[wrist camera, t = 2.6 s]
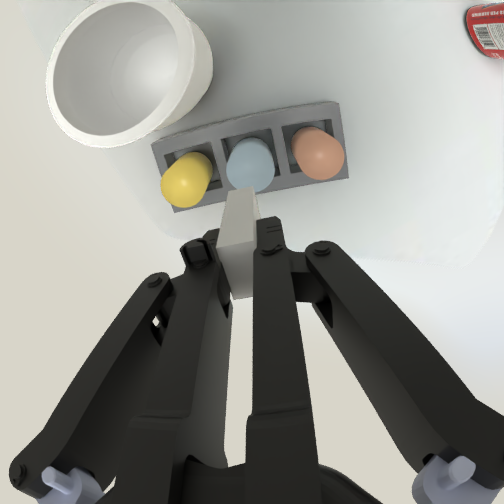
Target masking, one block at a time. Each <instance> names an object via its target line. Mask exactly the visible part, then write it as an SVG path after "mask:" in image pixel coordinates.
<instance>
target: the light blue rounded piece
mask: <svg viewBox="0 0 504 504" xmlns="http://www.w3.org/2000/svg"><path fill="white" fill-rule="evenodd" d="M226 173H227V177H228V180H229V181H230V183H231V184H232V185H233V186H234V187H235V188H236V189H241V188H246V187H250V186H253V187H254V191H255V192H259V191H261V190H263V189H265V188H266V187H267V186H268V185H269V184H270V183H271V182H272V180H273V177H274V173H275V167H274V162H273V158H272V154H271V151H270V148H269V147H268V145H267V144H266V143H265V142H264V141H262V140H260V139H258V138H253V137H249V138H244V139H242V140H240V141H239V142H237V143H236V144H235V146H234V147H233V149H232V152H231V155H230V157H229V160H228V163H227V167H226Z"/></svg>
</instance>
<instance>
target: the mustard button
mask: <svg viewBox="0 0 504 504" xmlns="http://www.w3.org/2000/svg"><path fill="white" fill-rule="evenodd" d="M212 175H213V167H212V163H211V162H210V160H209V159H208V158H207V157H206V156H205V155H204V154H202V153H199V152H188V153H185V154H183V155H182V156H181V157H180V158H179V159H178V160H177V161H176V162H175V163H174V164H173V165H172V166H171V167H170V168H169V169H168V170H167V171H166V172H165V173H164V175H163V176H162V179H161V191H162V194H163V196H164V197H165V199H166V200H167V201H168V202H169V203H171V204H172V205H174V206H177V207H181V208H187V207H191V206H194V205H196V204H197V203H198V202H199V201H200V200H201V199H202V197H203V195H204V193H205V191H206V189H207V187H208V184H209V182H210V180H211V178H212Z"/></svg>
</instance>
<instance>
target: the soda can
mask: <svg viewBox="0 0 504 504" xmlns="http://www.w3.org/2000/svg"><path fill="white" fill-rule="evenodd" d="M466 20H467V26H468V30H469V33H470V35H471V37H472V39H473V41H474V42H475V44H476V45H477V47H478V48H479V49H480V50H481V51H482V52H483V53H484V54H485V55H487V56H489V57H492V58H498V59H504V2H500V3H491V4H484V5H477V6H473V7H471V8H470V9H469V10H468V12H467V17H466Z"/></svg>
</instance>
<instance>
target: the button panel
mask: <svg viewBox="0 0 504 504" xmlns="http://www.w3.org/2000/svg"><path fill="white" fill-rule="evenodd" d="M317 120H325V122H326V128H327V134H329V135H330V136H332V137H333V138H335V139H336V140H337V141H338V142H339V143H340V144H341V146H342V148H343V151H344V163H343V166H342V168H341V170H340V171H339V172H338V173H337V174H336V175H335V176H333V177H331V178H329V179H326V180H316V179H312V178H310V177H308V176H307V175H306V174H305V173H304V172H303V171H302V170H301V168H300V166H299V164H297V165H291V166H289V162H288V157H287V152H286V147H285V142H284V137H283V132H282V127H281V126H285V125H291V124H297V123H304V122H310V121H317ZM269 128H270V129H271V134H272V138H273V143H274V148H275V152H276V157H277V162H278V167H279V168H275V173H274V177H273V180H272V182H271V183H270V184H269V185H268V186H267V187H266V188H265V189H263V190H261V191H259V192H255V195H257V194H261V193H267V192H272V191H277V190H282V189H287V188H293V187H298V186H304V185H310V184H316V183H321V182H327V181H334V180H340V179H346V178H349V176H348V166H347V158H346V149H345V141H344V134H343V127H342V120H341V114H340V108H339V103H336V102H323V103H315V104H307V105H300V106H294V107H288V108H282V109H276V110H271V111H266V112H260V113H256V114H251V115H246V116H242V117H237V118H233V119H229V120H225V121H220V122H217V123H213V124H209V125H205V126H201V127H198V128H194V129H191V130H187V131H184V132H181V133H177V134H174V135H171V136H168V137H165V138H162V139H159V140H157V141H156V142H154V143H152V144H151V147H152V150H153V153H154V156H155V159H156V162H157V165H158V168H159V171H160V174H161V177H162V176H163V175H164V173H165V172H166V171H167V170H168V169H169V168H170V167H171V166H172V165H173V164H174V163H175V162H176V161H175V158H174V155H173V152H175V151H179V150H182V149H186V148H189V147H193V146H196V145H200V144H204V143H207V142H211V146H212V150H213V153H214V157H215V160H216V164H217V167H218V171H219V175H220V178H221V180H218V181H214V182H210V183H209V184H208V187H207V189H206V191H205V193H204V195H203V197H202V199H201V200H200V201H199V202H198V203H197V204H196V205H194V206H191V207H187V208H181V207H177V206H174V205H172V204H171V205H172V208H173V211H174V213H176V212H180V211H184V210H188V209H193V208H197V207H201V206H206V205H210V204H214V203H219V202H223V201H226V200H227V196H228V191H232V190H236V188H235V187H234V186H233V185H232V184H231V183H230V181H229V180H228V177H227V173H226V167H227V163H228V160H229V154H228V150H227V146H226V143H225V139H224V138H227V137H232V136H236V135H240V134H245V133H249V132H254V131H259V130H264V129H269Z"/></svg>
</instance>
